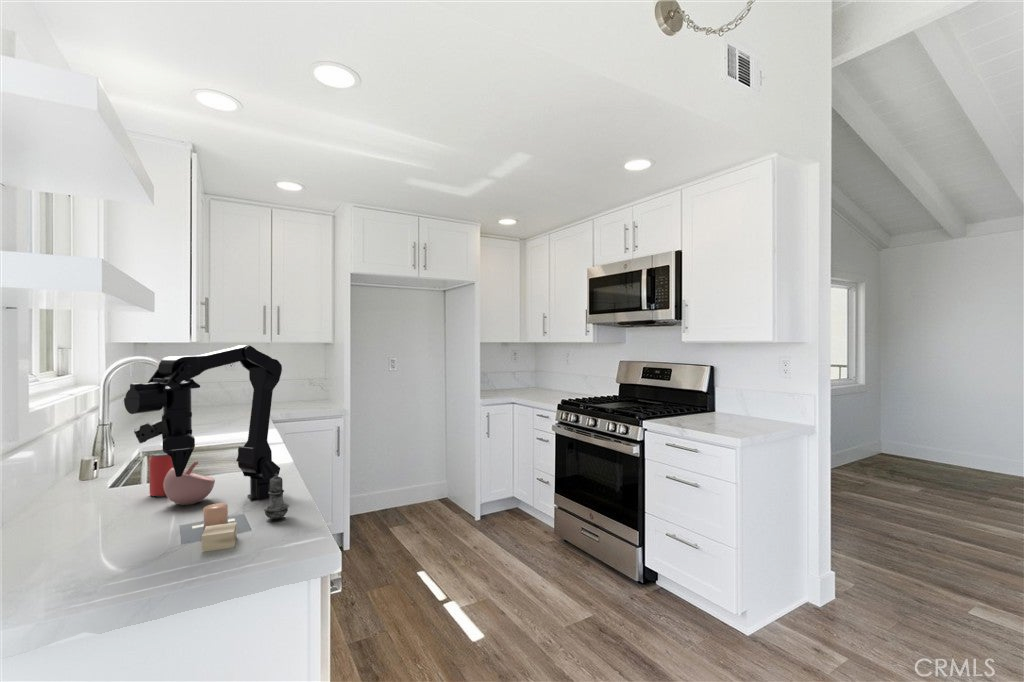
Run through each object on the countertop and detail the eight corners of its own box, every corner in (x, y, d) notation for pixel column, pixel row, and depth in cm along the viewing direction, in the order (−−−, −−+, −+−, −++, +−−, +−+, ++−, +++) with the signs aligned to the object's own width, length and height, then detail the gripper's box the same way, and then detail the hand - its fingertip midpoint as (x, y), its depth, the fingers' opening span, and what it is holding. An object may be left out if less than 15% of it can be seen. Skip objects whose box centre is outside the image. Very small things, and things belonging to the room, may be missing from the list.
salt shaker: (279, 526, 123) (278, 477, 123) (257, 524, 124) (257, 475, 124) (294, 518, 129) (294, 470, 129) (273, 516, 130) (273, 469, 130)
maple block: (206, 544, 114) (205, 526, 113) (236, 539, 116) (236, 522, 116) (201, 554, 108) (201, 536, 108) (234, 550, 110) (233, 531, 110)
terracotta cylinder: (203, 526, 122) (202, 505, 122) (226, 522, 125) (226, 501, 125) (204, 533, 118) (204, 511, 118) (228, 528, 121) (228, 507, 121)
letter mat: (179, 527, 123) (179, 525, 123) (244, 515, 131) (244, 513, 131) (181, 546, 112) (181, 544, 112) (252, 532, 120) (252, 530, 120)
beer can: (171, 489, 154) (170, 449, 154) (180, 493, 150) (180, 452, 150) (145, 494, 149) (145, 453, 149) (155, 498, 145) (154, 456, 145)
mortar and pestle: (222, 502, 141) (221, 461, 141) (172, 514, 132) (171, 470, 132) (205, 494, 149) (205, 455, 149) (157, 504, 140) (157, 463, 140)
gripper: (137, 406, 127) (138, 469, 127) (134, 416, 112) (135, 487, 112) (190, 403, 133) (191, 462, 133) (194, 411, 118) (195, 479, 118)
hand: (178, 472), depth 124 cm, fingers open, 9 cm apart
